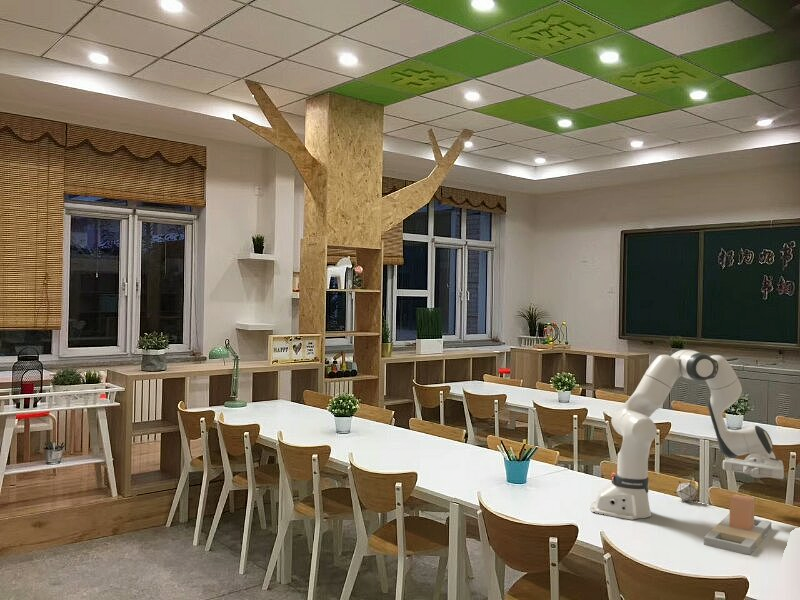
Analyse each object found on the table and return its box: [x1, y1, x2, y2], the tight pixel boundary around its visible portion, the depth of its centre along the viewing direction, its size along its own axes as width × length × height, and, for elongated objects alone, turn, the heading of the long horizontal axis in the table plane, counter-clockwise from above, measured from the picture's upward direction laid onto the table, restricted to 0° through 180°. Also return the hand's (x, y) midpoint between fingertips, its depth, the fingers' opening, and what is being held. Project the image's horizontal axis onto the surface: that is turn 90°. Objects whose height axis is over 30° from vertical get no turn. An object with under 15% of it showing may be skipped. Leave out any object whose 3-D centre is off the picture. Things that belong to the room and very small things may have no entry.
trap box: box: [703, 513, 772, 556], centre depth 235 cm, size 34×14×2 cm, turn 141°
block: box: [729, 494, 755, 531], centre depth 238 cm, size 6×6×10 cm
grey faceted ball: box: [673, 480, 700, 503], centre depth 276 cm, size 9×8×10 cm
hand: (748, 472), depth 245 cm, fingers closed
